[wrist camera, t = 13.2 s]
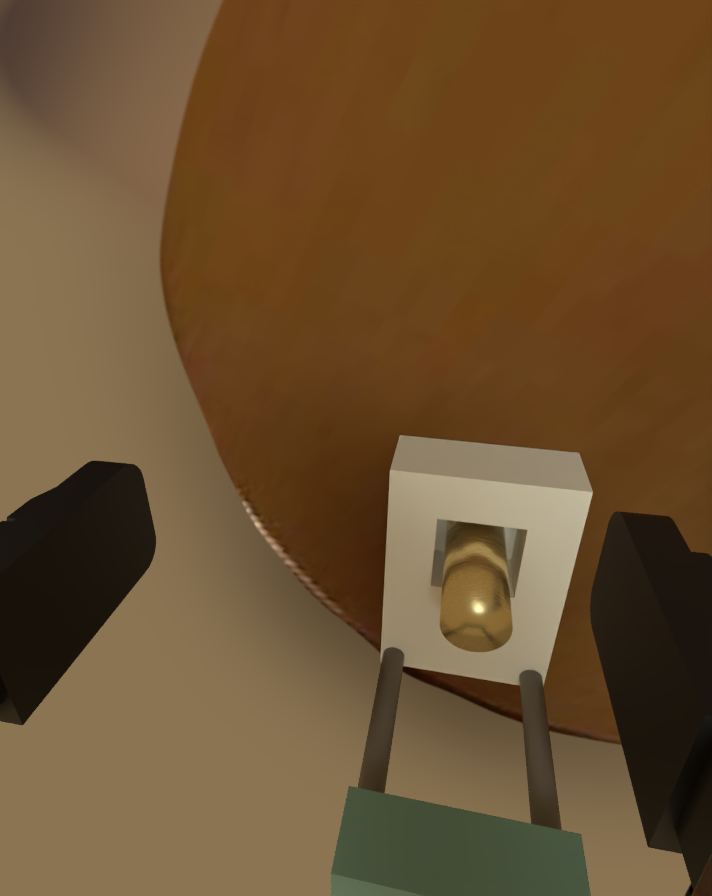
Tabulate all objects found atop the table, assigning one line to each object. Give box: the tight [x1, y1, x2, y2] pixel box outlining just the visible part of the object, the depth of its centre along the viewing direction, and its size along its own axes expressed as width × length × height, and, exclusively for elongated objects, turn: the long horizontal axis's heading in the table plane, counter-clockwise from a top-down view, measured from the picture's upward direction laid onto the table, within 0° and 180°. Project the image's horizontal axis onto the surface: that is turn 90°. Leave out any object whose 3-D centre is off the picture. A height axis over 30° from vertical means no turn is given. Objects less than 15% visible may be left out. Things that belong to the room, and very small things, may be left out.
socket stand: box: [331, 435, 593, 896], centre depth 32 cm, size 12×17×21 cm
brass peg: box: [440, 520, 513, 652], centre depth 35 cm, size 4×4×10 cm
